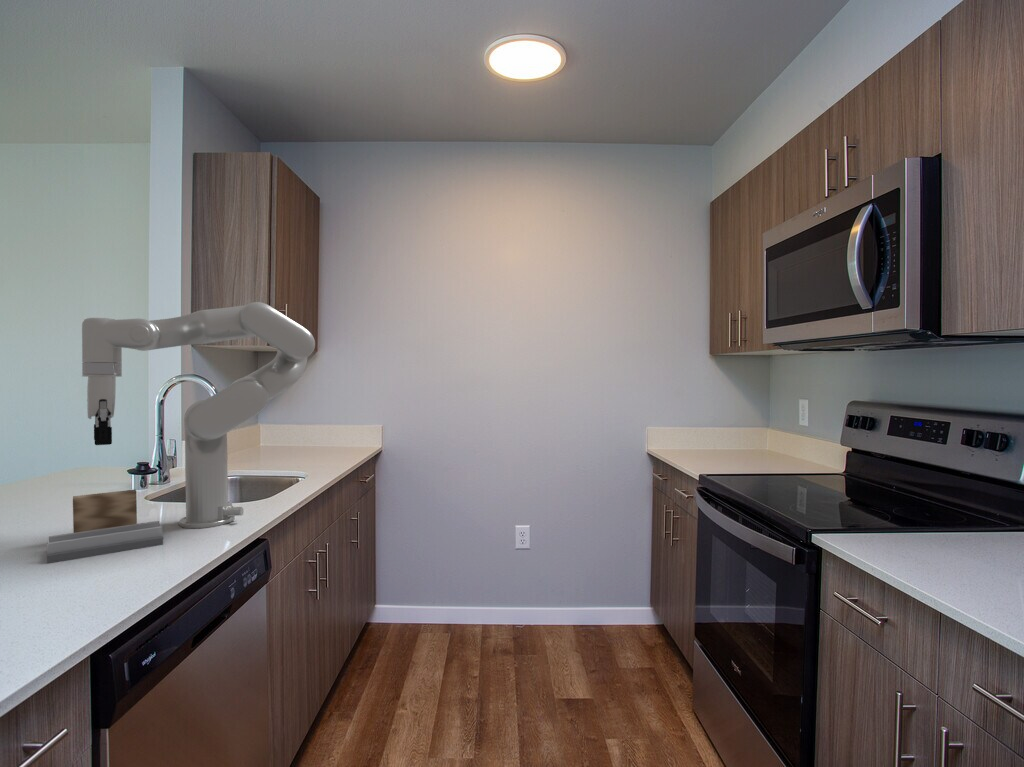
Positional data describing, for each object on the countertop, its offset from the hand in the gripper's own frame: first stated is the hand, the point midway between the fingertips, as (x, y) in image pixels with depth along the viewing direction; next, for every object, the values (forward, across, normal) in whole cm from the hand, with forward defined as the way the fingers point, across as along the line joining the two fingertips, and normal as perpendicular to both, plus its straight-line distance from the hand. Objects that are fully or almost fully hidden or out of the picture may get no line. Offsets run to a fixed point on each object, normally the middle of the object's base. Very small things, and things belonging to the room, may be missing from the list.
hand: (102, 442), depth 131 cm
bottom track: (+22, +12, 0) cm, 25 cm away
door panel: (+22, +2, 0) cm, 22 cm away
